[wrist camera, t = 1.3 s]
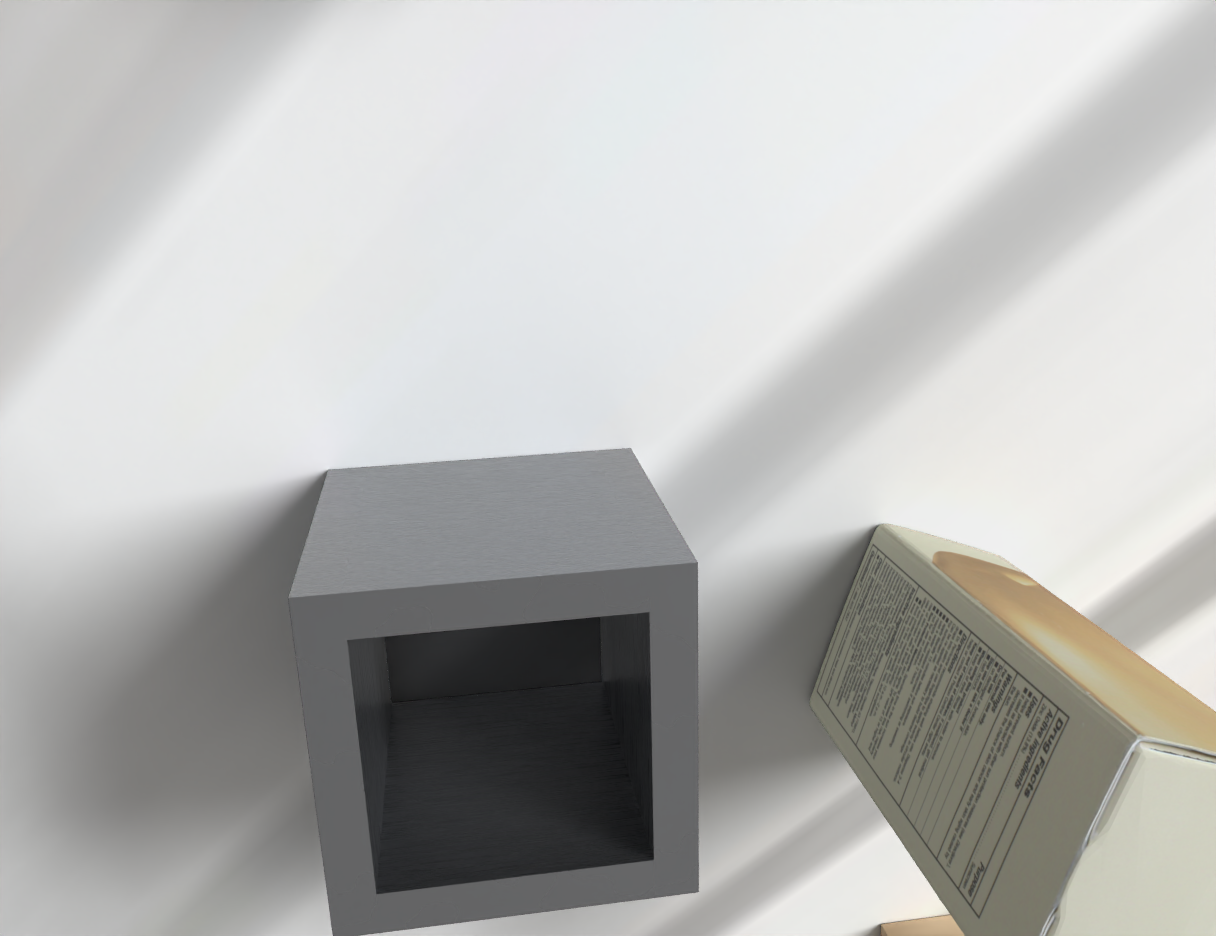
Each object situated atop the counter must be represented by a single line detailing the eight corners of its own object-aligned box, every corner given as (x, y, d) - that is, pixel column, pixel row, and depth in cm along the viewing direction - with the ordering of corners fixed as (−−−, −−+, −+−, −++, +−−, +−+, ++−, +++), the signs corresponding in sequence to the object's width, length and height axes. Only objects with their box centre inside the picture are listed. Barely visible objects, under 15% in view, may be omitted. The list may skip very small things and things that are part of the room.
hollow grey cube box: (358, 737, 31) (333, 938, 23) (328, 469, 28) (288, 597, 21) (636, 708, 32) (698, 892, 24) (630, 448, 29) (697, 562, 22)
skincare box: (927, 731, 33) (1183, 1051, 22) (801, 703, 32) (1000, 1023, 21) (1009, 544, 32) (1332, 784, 20) (879, 508, 31) (1142, 740, 19)
